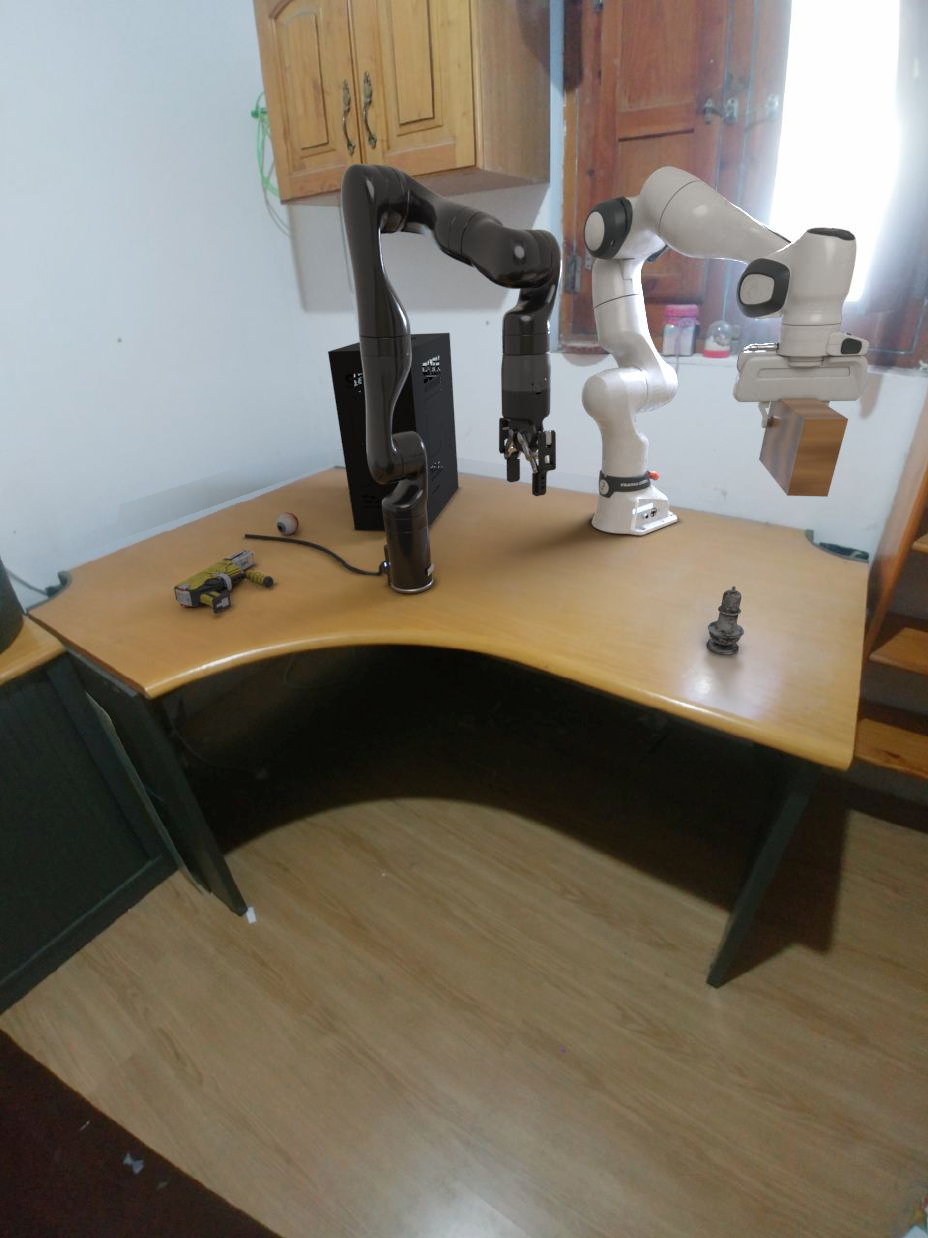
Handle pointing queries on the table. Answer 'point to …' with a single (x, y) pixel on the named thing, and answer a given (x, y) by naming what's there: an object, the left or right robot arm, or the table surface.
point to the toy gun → (218, 582)
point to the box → (803, 445)
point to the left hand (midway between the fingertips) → (525, 487)
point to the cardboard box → (399, 425)
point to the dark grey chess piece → (726, 625)
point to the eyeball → (287, 523)
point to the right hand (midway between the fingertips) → (788, 427)
